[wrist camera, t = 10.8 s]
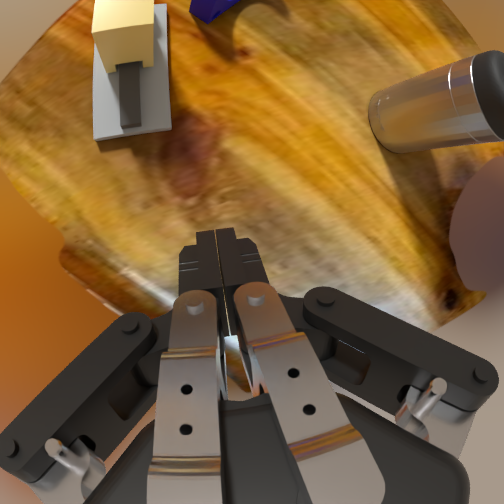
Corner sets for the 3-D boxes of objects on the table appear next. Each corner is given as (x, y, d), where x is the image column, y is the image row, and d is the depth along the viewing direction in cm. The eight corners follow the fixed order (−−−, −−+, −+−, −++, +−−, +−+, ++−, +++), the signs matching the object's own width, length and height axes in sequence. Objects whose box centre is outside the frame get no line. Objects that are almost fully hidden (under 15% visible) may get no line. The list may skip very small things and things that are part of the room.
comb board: (165, 8, 27) (168, -16, 22) (171, 130, 30) (173, 116, 25) (98, 17, 25) (92, -6, 20) (96, 141, 28) (84, 130, 23)
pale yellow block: (153, 29, 26) (154, -19, 18) (153, 66, 27) (153, 23, 19) (107, 35, 25) (96, -10, 16) (106, 73, 26) (91, 32, 17)
